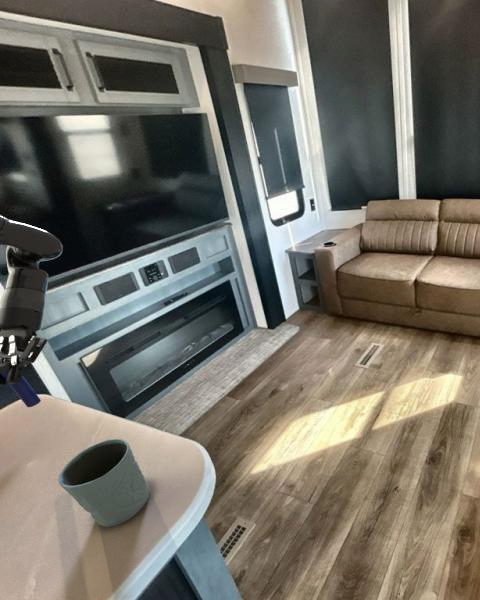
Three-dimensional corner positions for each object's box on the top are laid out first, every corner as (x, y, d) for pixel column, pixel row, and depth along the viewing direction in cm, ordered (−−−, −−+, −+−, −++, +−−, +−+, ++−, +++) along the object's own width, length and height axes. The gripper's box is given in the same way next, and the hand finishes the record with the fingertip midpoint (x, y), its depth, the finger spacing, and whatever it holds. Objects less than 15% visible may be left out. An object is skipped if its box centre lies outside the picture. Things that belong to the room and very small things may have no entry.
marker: (23, 408, 86) (-9, 368, 80) (33, 399, 88) (3, 360, 83) (34, 407, 86) (3, 366, 80) (44, 398, 88) (14, 359, 83)
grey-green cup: (87, 511, 69) (51, 469, 63) (144, 470, 75) (116, 429, 70) (104, 542, 63) (67, 499, 57) (165, 495, 70) (136, 453, 64)
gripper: (-25, 309, 83) (-45, 386, 78) (34, 302, 83) (18, 379, 78) (10, 317, 90) (-6, 388, 85) (65, 311, 90) (52, 381, 85)
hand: (5, 383), depth 82 cm, fingers closed on marker, 3 cm apart
